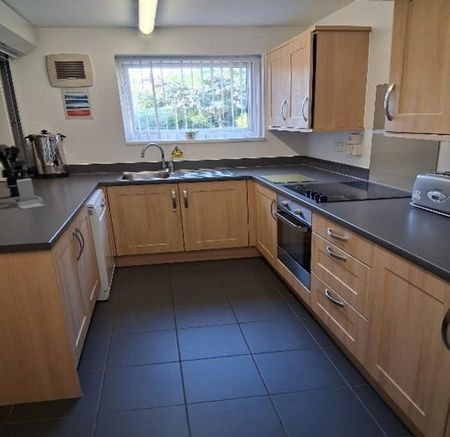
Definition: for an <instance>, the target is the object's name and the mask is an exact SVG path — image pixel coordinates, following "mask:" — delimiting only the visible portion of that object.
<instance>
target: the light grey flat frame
mask: <svg viewBox="0 0 450 437" xmlns="http://www.w3.org/2000/svg"><path fill="white" fill-rule="evenodd" d="M34 196H35V199H33V200H27V201H21V199H20V197H18V198H12V203H13V204H14V205H16V206H17V207H18V206H19V205H26V204H32V203H41V204H43V203H44V198H42V197H41V196H38V195H34Z"/></svg>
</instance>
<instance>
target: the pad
mask: <svg viewBox="0 0 450 437" xmlns="http://www.w3.org/2000/svg"><path fill="white" fill-rule="evenodd" d="M45 206H46V205H45V204H43V203H32V204H26V205H19V206H18V205H17V207H18V208H19V209H22V210H28V209H35V208H40V207H45Z"/></svg>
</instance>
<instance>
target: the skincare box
mask: <svg viewBox="0 0 450 437" xmlns="http://www.w3.org/2000/svg"><path fill="white" fill-rule="evenodd" d="M17 185H18V190H19V194H20V196H19V198H20V199H21V201H27V200H33V199H35V196H36V195H35V193H34V192H35V191H34V187H33V182H32V179H31V178H23V180H17Z"/></svg>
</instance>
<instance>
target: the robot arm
mask: <svg viewBox="0 0 450 437" xmlns="http://www.w3.org/2000/svg"><path fill="white" fill-rule="evenodd" d="M20 152H21V149H20V148H18V147H16V146H15V145H11V146H9V145H7V144H0V164H1V166H2V168H3V169H2V170H1V174H0V175H1V177H2V178H3V179H5V185H4V186H5V188H7V189H9V198H11V197H13V198H15V197H20V194H19V190H18V185H17V180H23V179H24V177H25V176H26V174H27V175H29V176H30V175H34V173H35V167H34V166H27V167H26V168H24V167H23V166H24V165H25V166H26V164H27V163H26V161H25V159H21V160H19V158H20Z"/></svg>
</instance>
